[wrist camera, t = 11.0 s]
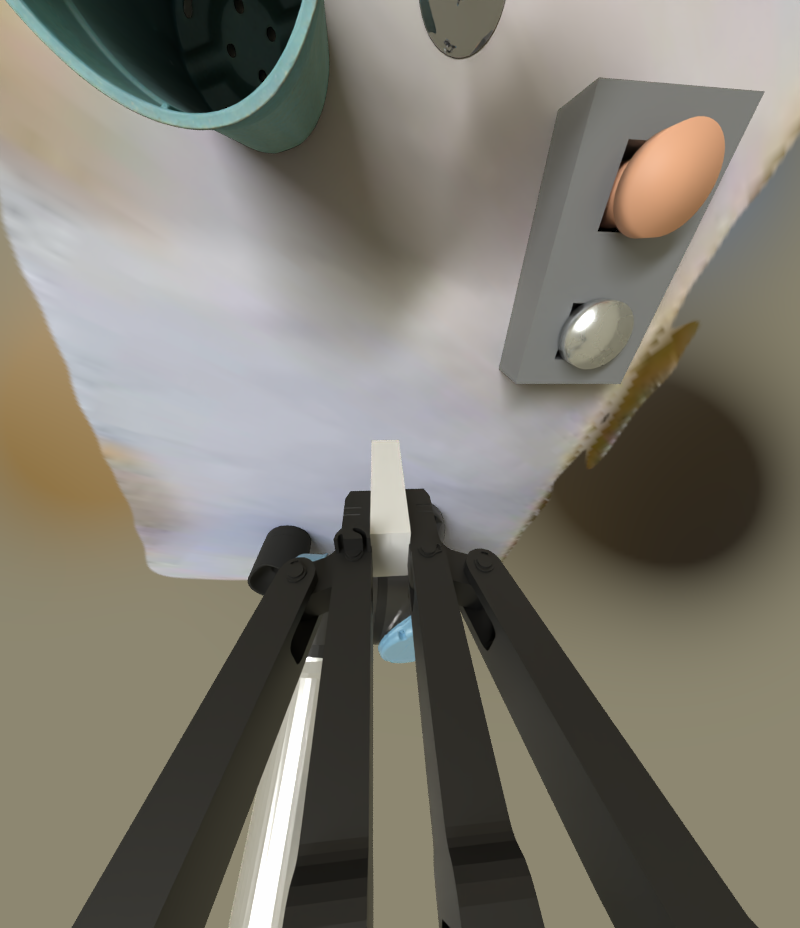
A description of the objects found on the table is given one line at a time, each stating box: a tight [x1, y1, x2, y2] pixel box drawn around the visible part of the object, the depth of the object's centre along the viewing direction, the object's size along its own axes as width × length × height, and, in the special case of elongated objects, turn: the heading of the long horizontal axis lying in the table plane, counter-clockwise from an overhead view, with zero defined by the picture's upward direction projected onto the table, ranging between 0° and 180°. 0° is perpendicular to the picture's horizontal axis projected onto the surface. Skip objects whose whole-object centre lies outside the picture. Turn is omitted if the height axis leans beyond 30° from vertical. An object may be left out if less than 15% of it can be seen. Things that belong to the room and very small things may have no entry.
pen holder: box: [248, 526, 311, 595], centre depth 55 cm, size 9×9×10 cm
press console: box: [499, 78, 764, 384], centre depth 32 cm, size 24×14×6 cm, turn 178°
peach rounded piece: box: [599, 116, 725, 239], centre depth 26 cm, size 7×7×7 cm
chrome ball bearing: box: [558, 298, 634, 369], centre depth 34 cm, size 7×7×7 cm
